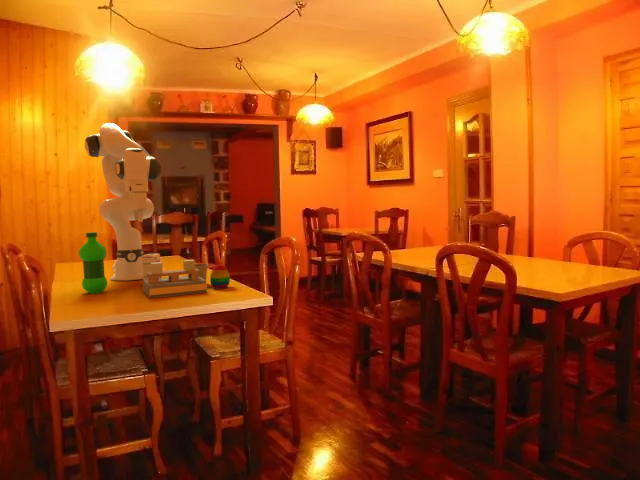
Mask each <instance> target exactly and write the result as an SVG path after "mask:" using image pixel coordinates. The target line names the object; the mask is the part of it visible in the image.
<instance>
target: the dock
mask: <svg viewBox="0 0 640 480" xmlns="http://www.w3.org/2000/svg"><path fill="white" fill-rule="evenodd" d="M142 280H143V279H142ZM142 282H144V284H143V292H144V294H145V296H147V297H148V298H149V299H155V298H156V299H158V298H159V299H160V298H165V297H166V298H167V297H177V296H185V295H197V294H204V293H207V290H208V286H207V279H206V280H204V279H203V278H201V277H199V279H193V280H191V279H190V278H188V275H185V276H184V275H183V276H179V281H170V280H169V277H163V278H162V277H161V278H160V279H159V283H150V282H149V280H143V281H142Z"/></svg>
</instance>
